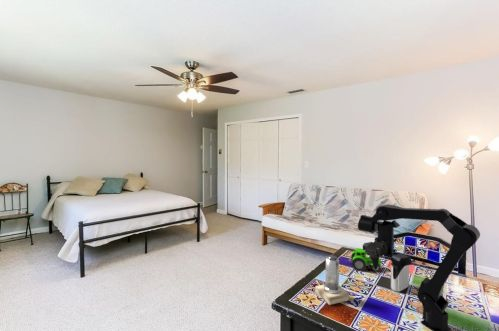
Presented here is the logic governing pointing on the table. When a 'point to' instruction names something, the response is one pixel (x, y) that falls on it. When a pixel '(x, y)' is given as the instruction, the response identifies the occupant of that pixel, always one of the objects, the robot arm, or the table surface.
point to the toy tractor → (362, 260)
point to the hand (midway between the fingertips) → (384, 273)
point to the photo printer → (400, 279)
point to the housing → (332, 275)
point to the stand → (331, 295)
